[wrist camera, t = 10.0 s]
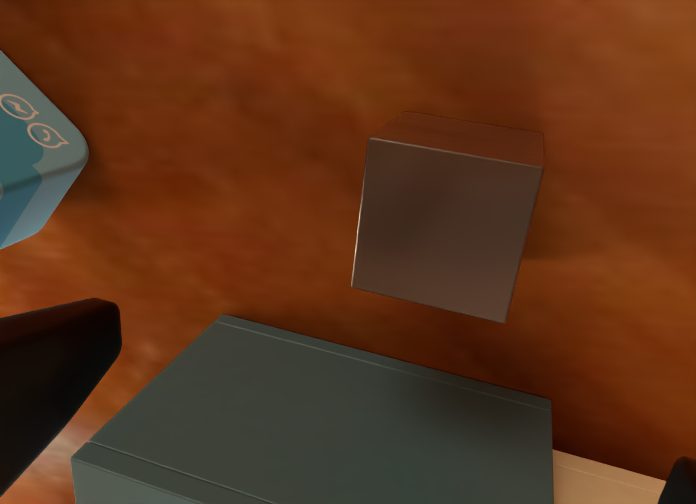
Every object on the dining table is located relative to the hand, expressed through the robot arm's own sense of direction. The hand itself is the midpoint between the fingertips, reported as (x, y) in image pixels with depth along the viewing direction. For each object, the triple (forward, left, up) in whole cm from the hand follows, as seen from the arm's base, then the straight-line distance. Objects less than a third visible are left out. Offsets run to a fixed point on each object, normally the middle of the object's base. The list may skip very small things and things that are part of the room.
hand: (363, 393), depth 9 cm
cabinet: (-13, +2, -12) cm, 18 cm away
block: (0, 0, -12) cm, 12 cm away
